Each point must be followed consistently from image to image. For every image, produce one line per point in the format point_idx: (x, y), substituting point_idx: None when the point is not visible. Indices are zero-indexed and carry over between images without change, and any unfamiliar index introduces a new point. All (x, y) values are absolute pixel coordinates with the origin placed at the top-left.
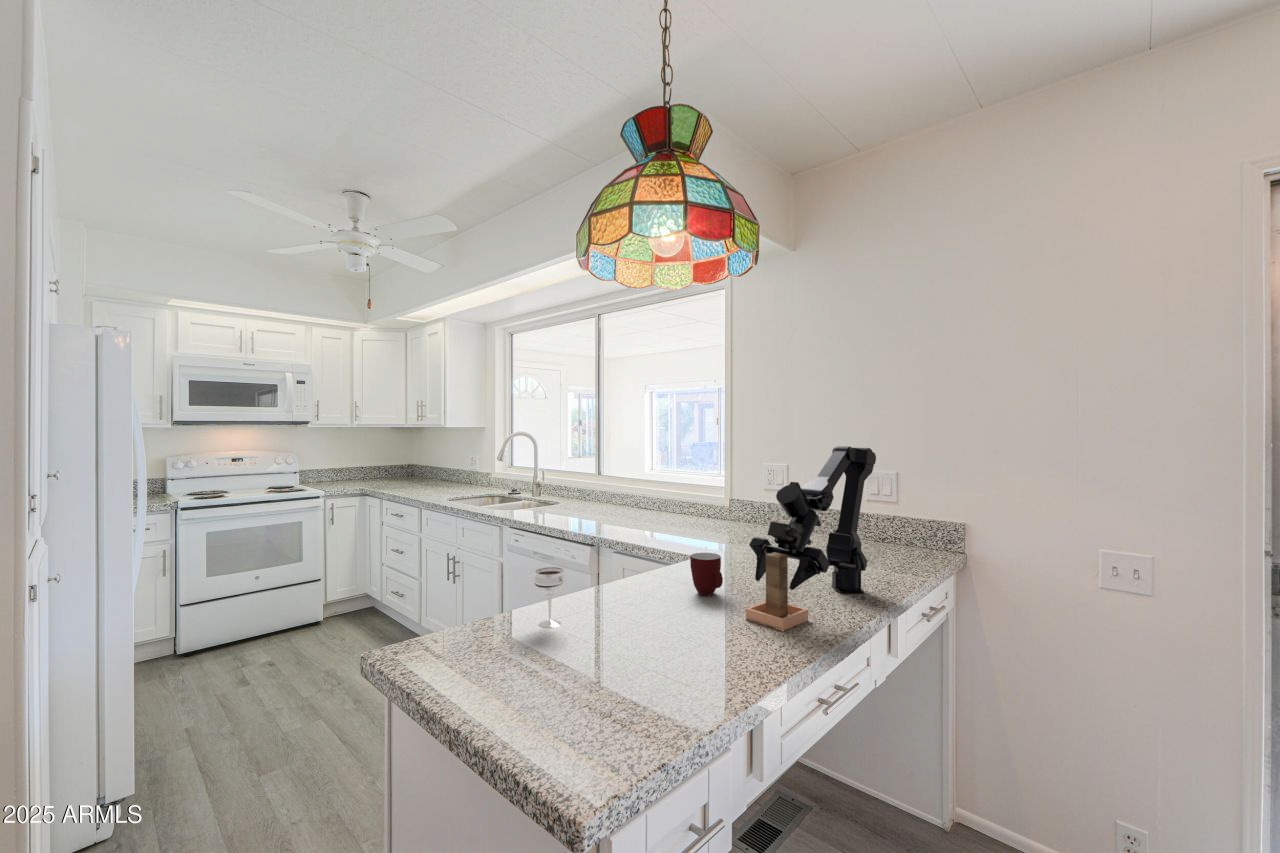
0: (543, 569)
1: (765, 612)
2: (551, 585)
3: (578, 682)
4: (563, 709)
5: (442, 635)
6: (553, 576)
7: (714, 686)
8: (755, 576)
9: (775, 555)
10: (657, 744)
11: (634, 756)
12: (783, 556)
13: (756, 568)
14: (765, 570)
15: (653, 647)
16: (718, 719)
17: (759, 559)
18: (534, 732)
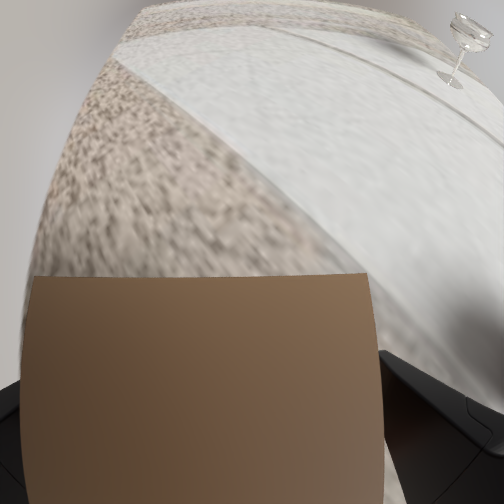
0: (488, 32)
1: None
2: (450, 24)
3: (275, 22)
4: (240, 10)
5: (438, 42)
6: (456, 16)
7: (149, 68)
8: (392, 354)
9: (150, 380)
10: (144, 26)
11: (150, 19)
12: (27, 442)
13: (439, 382)
14: (404, 478)
15: (308, 77)
16: (115, 53)
17: (492, 430)
18: (228, 2)
